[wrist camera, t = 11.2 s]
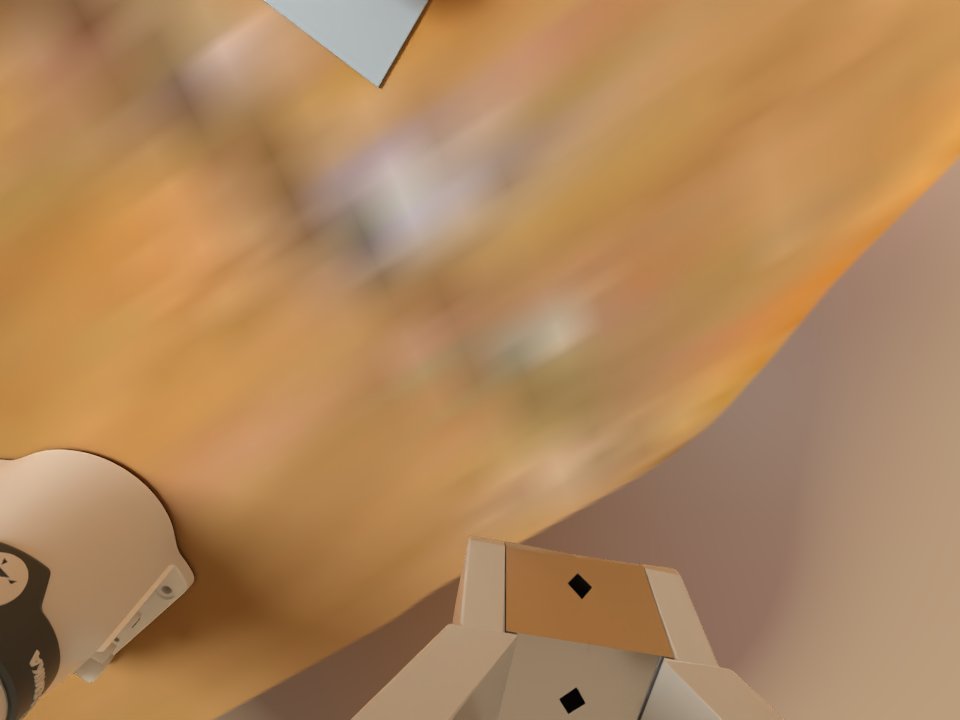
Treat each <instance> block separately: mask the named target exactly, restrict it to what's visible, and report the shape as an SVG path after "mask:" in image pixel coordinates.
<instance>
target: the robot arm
mask: <svg viewBox="0 0 960 720" xmlns="http://www.w3.org/2000/svg"><path fill="white" fill-rule="evenodd" d="M193 582H194V575H193V573H192V571H191V569H190V567H189V566H188V564H187V563H186V561H185V560H184V558H183V557H182V556H181V554H180V553H179V551H178V548H177V544H176V540H175V535H174V530H173V527H172V524H171V521H170V519H169V516H168V514H167V512H166V511H165V509H164V507H163V506H162V504H161V503H160V501H159V500H158V499H157V497H156V496H155V495H154V494H153V492H152V491H151V490H150V489H149V488H148V487H147V486H146V485H145V484H144V483H142V482H141V481H140V480H139V479H138V478H136V477H135V476H134V475H133V474H131V473H130V472H128V471H127V470H125V469H124V468H122V467H120V466H118V465H116V464H115V463H113V462H111V461H108V460H106V459H104V458H101V457H98V456H95V455H92V454H89V453H85V452H80V451H74V450H61V449H57V450H46V451H41V452H37V453H33V454H31V455H28V456H25V457H23V458H19V459H16V460H1V459H0V720H22V719H23V718H24V717H25V715H26V714H27V713H28V712H29V711H30V710H31V709H32V708H33V707H34V706H35V704H36V703H37V702H38V700H39V698H42V697H45V696H46V695H48V694H49V693H50V692H51V691H53V690H54V689H55V688H56V687H57V686H59V685H60V684H61V683H62V682H63V681H64V680H66V679H67V678H68V677H69V676H70V675H71V674H72V673H73V674H75V673H77V674H76V675H77V676H79V677H80V678H81V679H83V680H85V681H86V682H88V683H89V682H90V683H92V682H93V681H94V680H95V679H96V678H97V677H98V676H99V675H100V674H101V673H102V671H103V670H104V669H105V668H106V667H107V665H108V664H109V663H110V662H111V660H112V659H113V658H114V655H115V654H116V653H117V652H118V651H120V650H121V649H122V648H123V647H124V646H125V645H126V644H127V643H129V642H130V641H131V640H132V639H133V638H134V637H135V636H136V635H138V634H139V633H140V632H141V631H142V630H143V629H144V628H145V627H146V626H148V625H149V624H150V623H151V622H152V621H153V620H154V619H155V618H157V617H158V616H159V615H160V614H161V613H162V612H163V611H164V610H166V609H167V608H168V607H169V606H170V605H171V604H172V603H173V602H175V601H176V600H177V599H178V598H179V597H180V596H181V595H182V594H184V593H185V592H186V591H187V589H188V588H189V587H190V586H191V585H192V584H193ZM351 720H785V719H784V718H783V717H782V716H781V715H780V714H779V713H778V712H777V711H776V710H774V709H773V708H772V707H771V706H770V705H769V704H768V703H767V702H766V701H765V700H764V699H763V698H761V697H760V696H759V695H758V694H757V693H756V692H755V691H754V690H753V689H752V688H751V687H750V686H749V685H747V684H746V683H745V682H744V681H743V680H742V679H741V678H740V677H739V676H738V675H737V674H736V673H735V672H733V671H732V670H731V669H726V668H721V667H719V665H718V662H717V660H716V658H715V655H714V653H713V651H712V648H711V646H710V644H709V641H708V639H707V637H706V634H705V632H704V630H703V627H702V625H701V622H700V620H699V618H698V615H697V613H696V611H695V608H694V606H693V604H692V601H691V599H690V597H689V594H688V592H687V590H686V587H685V585H684V583H683V580H682V578H681V575H680V574H679V573H678V572H677V571H676V570H675V569H673V568H666V567H659V566H651V565H644V564H639V565H636V564H630V563H624V562H618V561H611V560H605V559H599V558H592V557H586V556H580V555H573V554H570V553H564V552H559V551H554V550H548V549H543V548H537V547H532V546H526V545H522V544H516V543H511V542H506V541H505V542H504V543H503V541H498V540H493V539H487V538H481V537H475V536H469V539H468V542H467V547H466V552H465V557H464V562H463V568H462V573H461V578H460V584H459V589H458V594H457V599H456V605H455V611H454V617H453V623H452V624H448V625H447V626H446V627H445V628H444V629H443V630H442V631H441V632H440V633H439V634H438V635H437V636H436V637H435V638H433V639H432V641H431V642H429V643H428V645H427V646H425V647H424V648H423V649H422V650H421V651H420V652H419V653H418V654H417V655H416V656H415V657H414V658H413V659H412V660H411V661H410V662H409V663H408V664H407V665H406V666H405V667H404V668H403V669H402V670H401V671H400V672H399V673H398V674H397V675H396V676H395V677H394V678H393V679H392V680H391V681H390V682H389V683H388V684H387V685H386V686H385V687H383V688H382V689H381V691H379V692H378V693H377V694H376V695H375V696H374V697H373V698H372V699H371V700H370V701H369V702H368V703H367V704H366V705H365V706H364V707H363V708H362V709H361V710H360V711H359V712H358V713H357V714H356V715H355V716H354V717H353V718H352V719H351Z"/></svg>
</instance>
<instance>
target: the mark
mask: <svg viewBox="0 0 960 720" xmlns="http://www.w3.org/2000/svg"><path fill="white" fill-rule="evenodd" d="M264 1H265V2H266V3H268V4H269V5H270V6H272V7H273V8H274V9H276V10H277V11H278V12H279V13H281V14H282V15H283V16H285V17H286V18H287V19H289V20H290V21H291V22H293V23H294V24H295V25H297V26H298V27H299V28H301V29H302V30H303V31H304V32H306V33H307V34H308V35H310V36H311V37H312V38H314V39H315V40H316V41H318V42H319V43H320V44H322V45H323V46H324V47H326V48H327V49H328V50H330V51H331V52H332V53H333V54H335V55H336V56H337V57H339V58H340V59H341V60H343V61H344V62H345V63H347V64H348V65H349V66H351V67H352V68H353V69H355V70H356V71H357V72H358V73H360V74H361V75H362V76H364V77H365V78H366V79H368V80H369V81H370V82H372V83H373V84H374V85H376V86H377V87H378V88H379V86H380V84H381V83H382V81H383V79H384V77H385V76H386V74H387V72H388V70H389V69H390V67H391V65H392V63H393V62H394V60H395V58H396V57H397V55H398V53H399V51H400V50H401V48H402V46H403V44H404V43H405V41H406V39H407V37H408V36H409V34H410V32H411V30H412V29H413V27H414V25H415V24H416V22H417V20H418V18H419V17H420V15H421V13H422V11H423V10H424V8H425V6H426V4H427V3H428V1H429V0H264Z"/></svg>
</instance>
